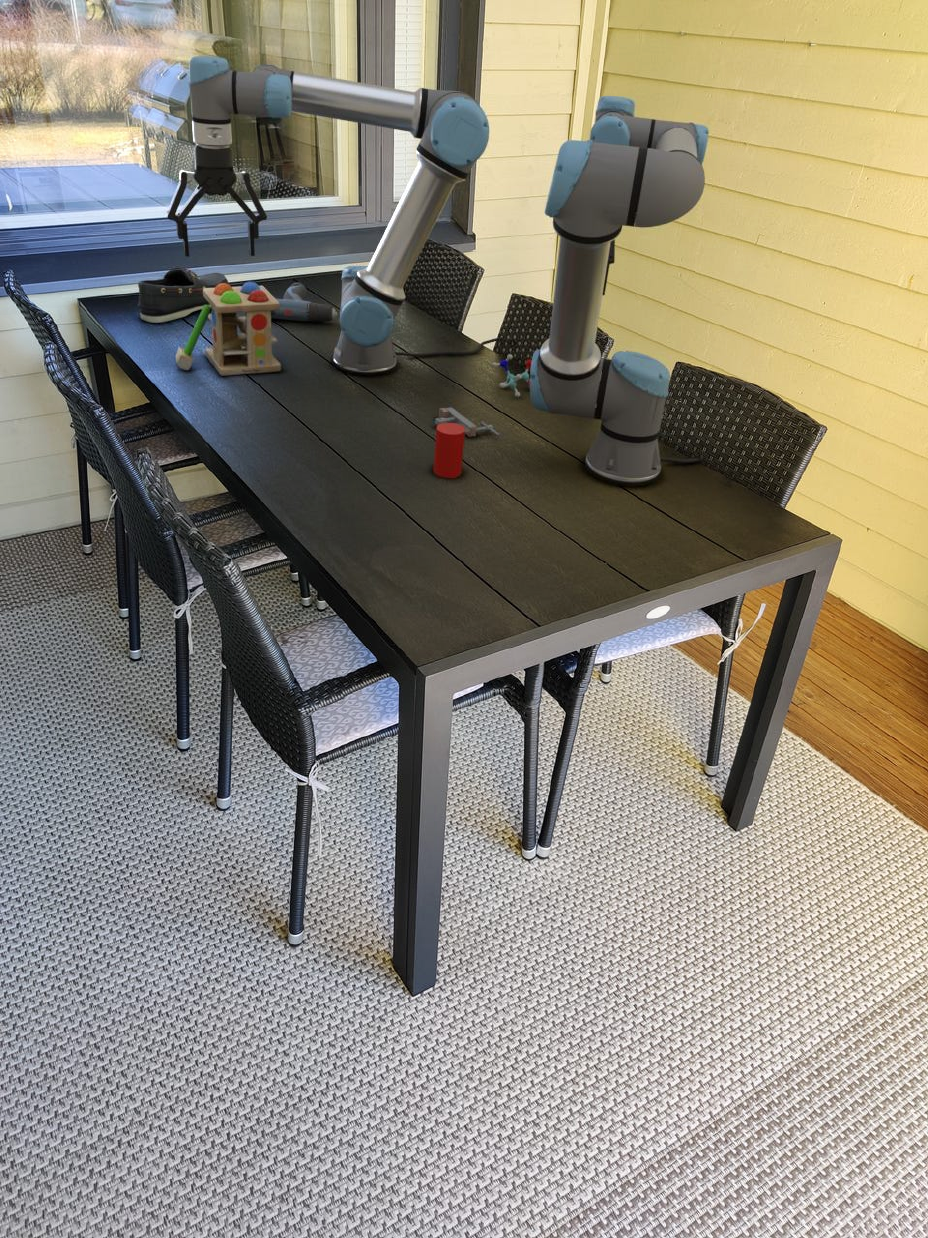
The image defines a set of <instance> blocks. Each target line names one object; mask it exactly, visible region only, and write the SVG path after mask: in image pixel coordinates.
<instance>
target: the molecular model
mask: <svg viewBox="0 0 928 1238" xmlns="http://www.w3.org/2000/svg"><path fill="white" fill-rule="evenodd" d="M511 360H513V354H511V353H509V354H508V355H507V358H506V359H503V360H501V361H500V362H495V361H494V362H492V363H491V367H492V368H494V369H495V368H497V367H498V366H499V367H501V368H503V369H504V370H505V372H506V375H507V376H506V381H505V382H500V383H499V388H500V389H505V388H507V387H509V388H510V389H513V391H514V396H515V398H520V397H521V393H520V392H519V391H518V389H517V388H516V387H517V382H518V381H519V380H523V381H525V382H526V384H527V386H528V389H529V390H530V374H529V373H528V372H529V370H530V368H531V362H532V359H527V360H526V361H525V365H526V367H525V370H524V372H522V373H518V374H516V375H514V374H513V373H511V372H510V370H509V368H508V364H509V363H508V362H509V361H511Z"/></svg>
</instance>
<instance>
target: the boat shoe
mask: <svg viewBox="0 0 928 1238" xmlns="http://www.w3.org/2000/svg"><path fill="white" fill-rule="evenodd" d="M221 283H226V284H228V285H230V282H229V280H228V279H227V277H226V276H225V274H223V273H220V272H211V273H205V274H201V275H198V274H197V273H195V272H194V271H192V270H190V269H189V268H182V267H180V266H176V267H173V268H171V269H170V270H168V271H167V272H166V273H165V274H164V276H163V277H162V278H158V279H143V280H139V281H138V282H137V285H138V286H137V287H138V293H139V294H138V295H139V296H138V301H139V302H138V303H137V307H139V308H140V319H141V320H143V321H145V322H148V323H152V324H158V323H160V324H161V323H166V322H170V321H173V320H177V319H181V318H184V317H187V316H188V315H190V314H191V313H193V312H196V311H199V310H202V309H203V307H204V305H208V306H210V307H211V305H210V304H209V302H208V301H207V300H206V299H205V297H204V296H203V289H204V288H215V287H216V286H217V285H218V284H221Z"/></svg>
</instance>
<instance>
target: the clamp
mask: <svg viewBox="0 0 928 1238" xmlns="http://www.w3.org/2000/svg"><path fill="white" fill-rule="evenodd" d="M434 423H435V425H436V426H438V425H439V424H442V423H456V424H459V425H461V426H463V427H464V428H465V435H467V436H468V437H469V438H471V437H476V436H477V433H478V432H484V431H485V432H492V433H493V434H494V435H495V436H496V437H497V438H501V437H502V434H501V432H497V431H496V430H495V429H494V427H493V424H486V423H485V421H484V420H482V421H480V426H481V427H477V425H475V424H474V423H473V422H472V421H471V420H469V419H468V418H467V417H465V416H464V415H462V414H461V413H460V412H459V411H457V410H456V409H454V408H453V407H441V408H439V411H438V417H437V418H435V421H434Z"/></svg>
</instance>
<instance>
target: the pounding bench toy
mask: <svg viewBox="0 0 928 1238" xmlns="http://www.w3.org/2000/svg"><path fill="white" fill-rule="evenodd" d="M203 296H204V297H205V299H206V300H207V301H208V302H209V304H210V305H211V307H210V306H208V305H204V307H203V309H201V312H200V313H199V316H198V318H197V320H196V322H195V324H194V327H193V329H192V331H191V332H190V333H191V334H190V336H189V338H188V340H187V343H186V344H185V347H184V348H182V347H180V346H179V347H178V349H177V351H176V354H175V357H174V358H175V362H176V365H177V366H178V368H179V369H182V370H185V371H189V370H190V369H191V367H192V365H193V363H194V356H193V351H194V348H195V347H196V345H197V342H198V340H199V337H200V336H201V333H202V332H203V329H204V326H205V325H206V322H207V320H209V321H210V322H211V336H212V337H211V338H212V339H211V340H212V348H205V349H204V352H205V353H204V355H205V357H206V359H208V361H209V363H210V364H211V365H212V366H213V367H214V369H215V370H216V371H217V372H218V374H219V375H220V376H222V377H223V376H234V375H235V376H236V375H246V374H247V375H250V374H262V373H275V372H281V370H282V364H281V363H280V362H279V360H278V359H277V358H276V357H275V356H274V355H273V348H272V347H273V345H272V344H276V343H278V342H279V341H278V339H277V338H276V337H275V336H274V334H272V318H271V310H280V303H279V302H278V301H277V300H276V299H277V298H276V297H274V296H273V295H272V294H271V293H270V292H269V290H268V289H267V288H266V287H264V285H259V284H257V283H256V282H255V281H247V282H245V283H244V284H243V285H242V286H232V285H230V284H229V285H228V284H226V283H221V284H218V285H217V286H216V287H215V288H204V289H203ZM238 313H244V314H245V315H244V316H238ZM238 329H239V331H240V333H239V334H238Z"/></svg>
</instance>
